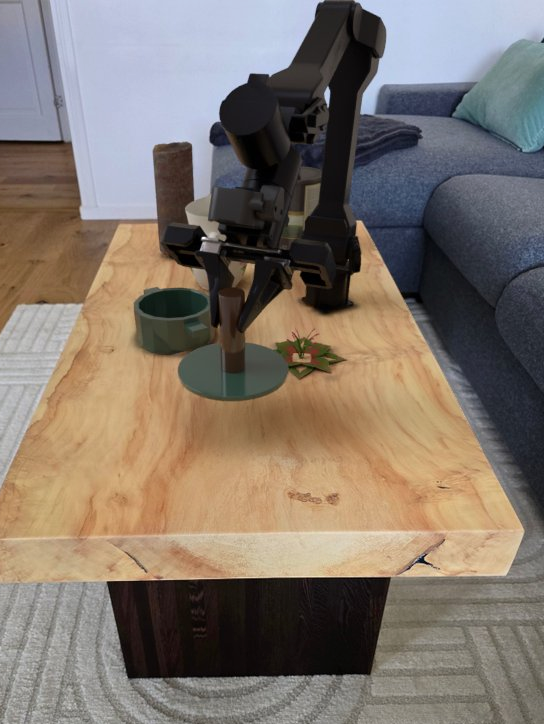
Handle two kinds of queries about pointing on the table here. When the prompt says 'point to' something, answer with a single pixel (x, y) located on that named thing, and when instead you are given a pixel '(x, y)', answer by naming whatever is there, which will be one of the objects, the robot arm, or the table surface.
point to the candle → (172, 184)
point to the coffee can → (301, 205)
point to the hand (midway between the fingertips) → (226, 329)
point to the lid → (232, 360)
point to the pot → (173, 320)
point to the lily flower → (310, 348)
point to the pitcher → (199, 216)
